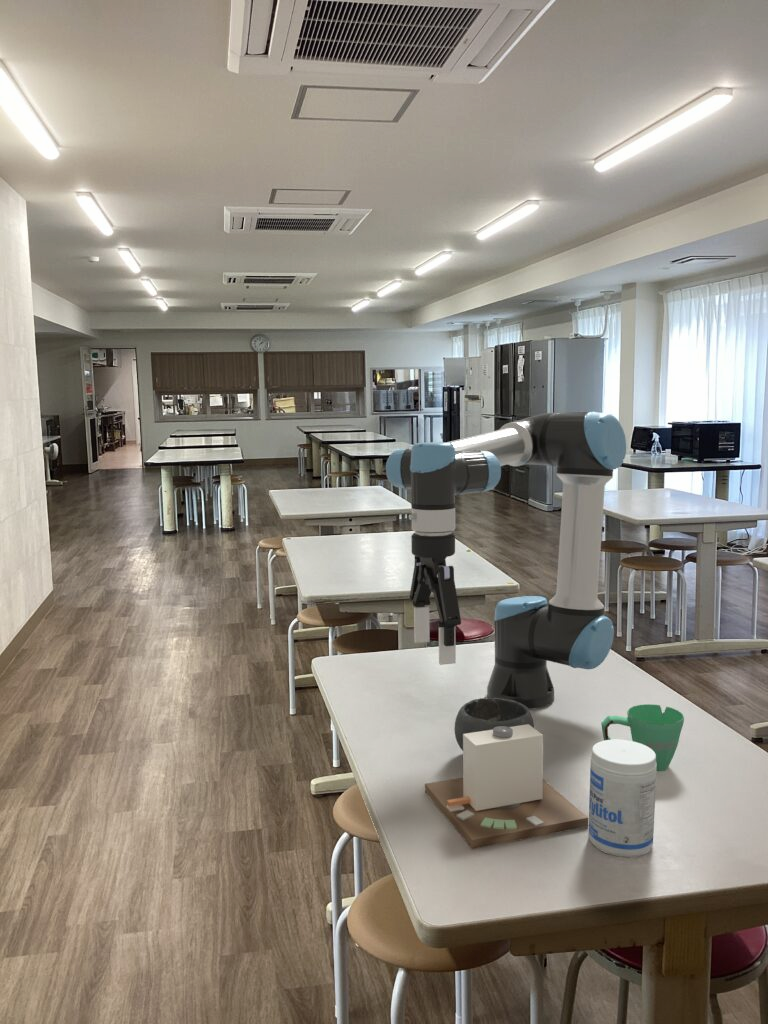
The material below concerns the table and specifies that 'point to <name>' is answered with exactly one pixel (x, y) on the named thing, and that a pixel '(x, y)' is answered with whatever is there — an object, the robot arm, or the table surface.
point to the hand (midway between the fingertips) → (434, 652)
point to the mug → (651, 730)
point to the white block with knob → (501, 767)
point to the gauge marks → (489, 822)
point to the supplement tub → (622, 797)
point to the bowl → (490, 716)
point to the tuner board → (507, 815)
